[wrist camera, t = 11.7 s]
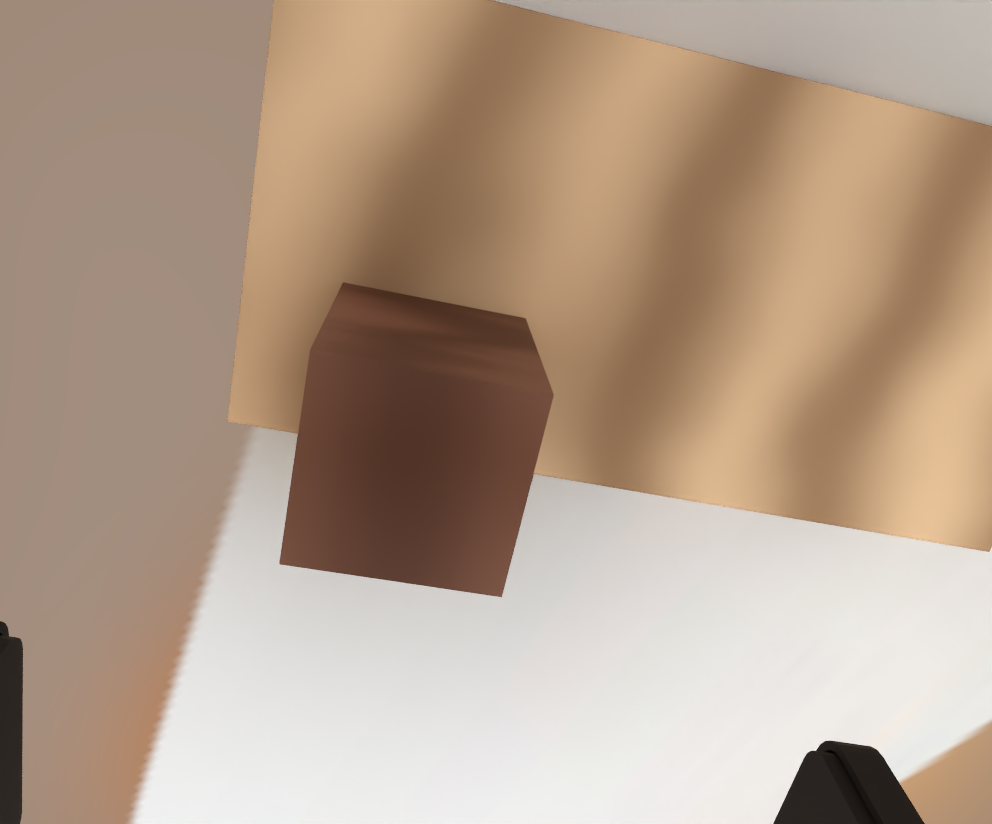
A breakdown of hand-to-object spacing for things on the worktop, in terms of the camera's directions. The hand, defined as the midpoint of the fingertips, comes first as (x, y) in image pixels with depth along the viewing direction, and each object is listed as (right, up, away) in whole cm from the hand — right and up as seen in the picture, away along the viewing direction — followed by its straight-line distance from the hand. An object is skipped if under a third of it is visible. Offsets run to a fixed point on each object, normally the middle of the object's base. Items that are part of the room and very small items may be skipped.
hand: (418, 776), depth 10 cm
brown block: (-1, +5, +15) cm, 16 cm away
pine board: (+6, +8, +15) cm, 18 cm away
